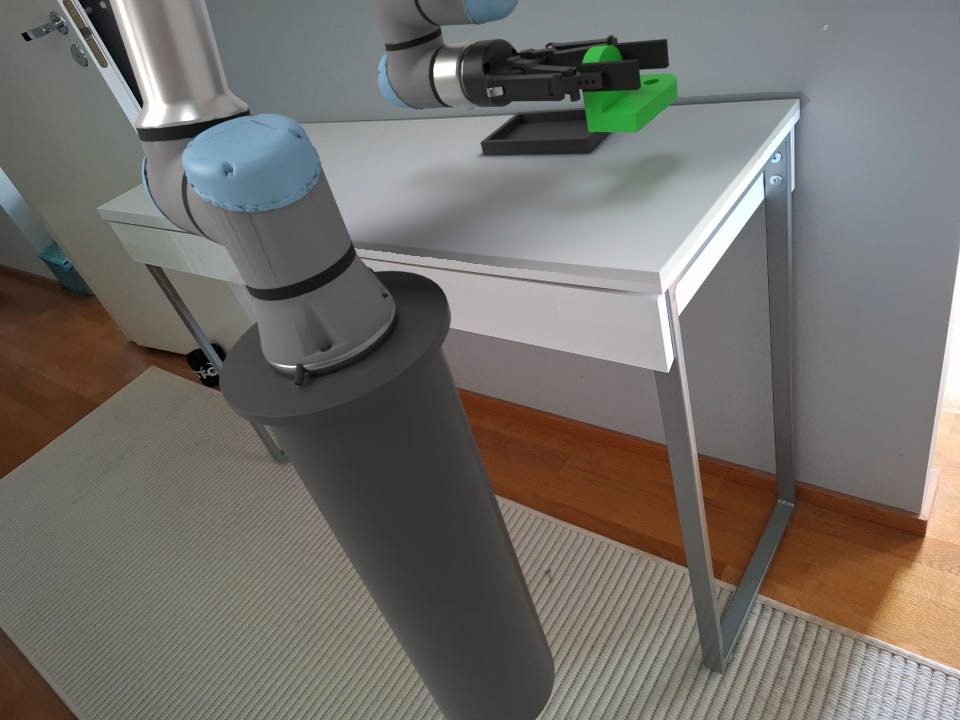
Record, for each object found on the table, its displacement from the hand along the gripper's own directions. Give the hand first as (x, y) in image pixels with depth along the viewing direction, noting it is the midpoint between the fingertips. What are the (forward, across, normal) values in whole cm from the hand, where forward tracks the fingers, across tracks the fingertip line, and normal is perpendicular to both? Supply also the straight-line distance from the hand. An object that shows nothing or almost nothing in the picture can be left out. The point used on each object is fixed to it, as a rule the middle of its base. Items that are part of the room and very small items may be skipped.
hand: (652, 64), depth 67 cm
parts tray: (-25, -14, -14) cm, 32 cm away
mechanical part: (-4, -3, -6) cm, 8 cm away
